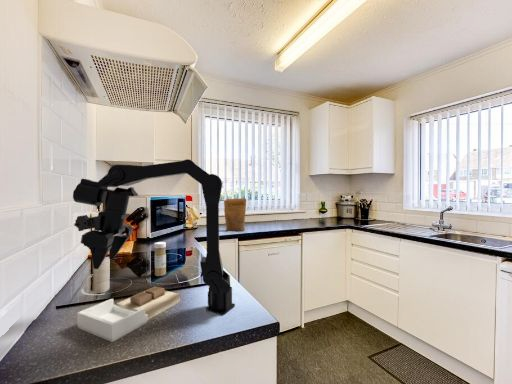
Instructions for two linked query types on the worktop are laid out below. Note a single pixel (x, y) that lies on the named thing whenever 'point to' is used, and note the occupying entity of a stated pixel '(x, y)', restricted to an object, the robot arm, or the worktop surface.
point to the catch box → (110, 320)
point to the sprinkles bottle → (160, 258)
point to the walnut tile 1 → (140, 299)
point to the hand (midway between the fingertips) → (104, 263)
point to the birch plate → (154, 304)
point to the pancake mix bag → (235, 214)
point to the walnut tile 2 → (156, 292)
